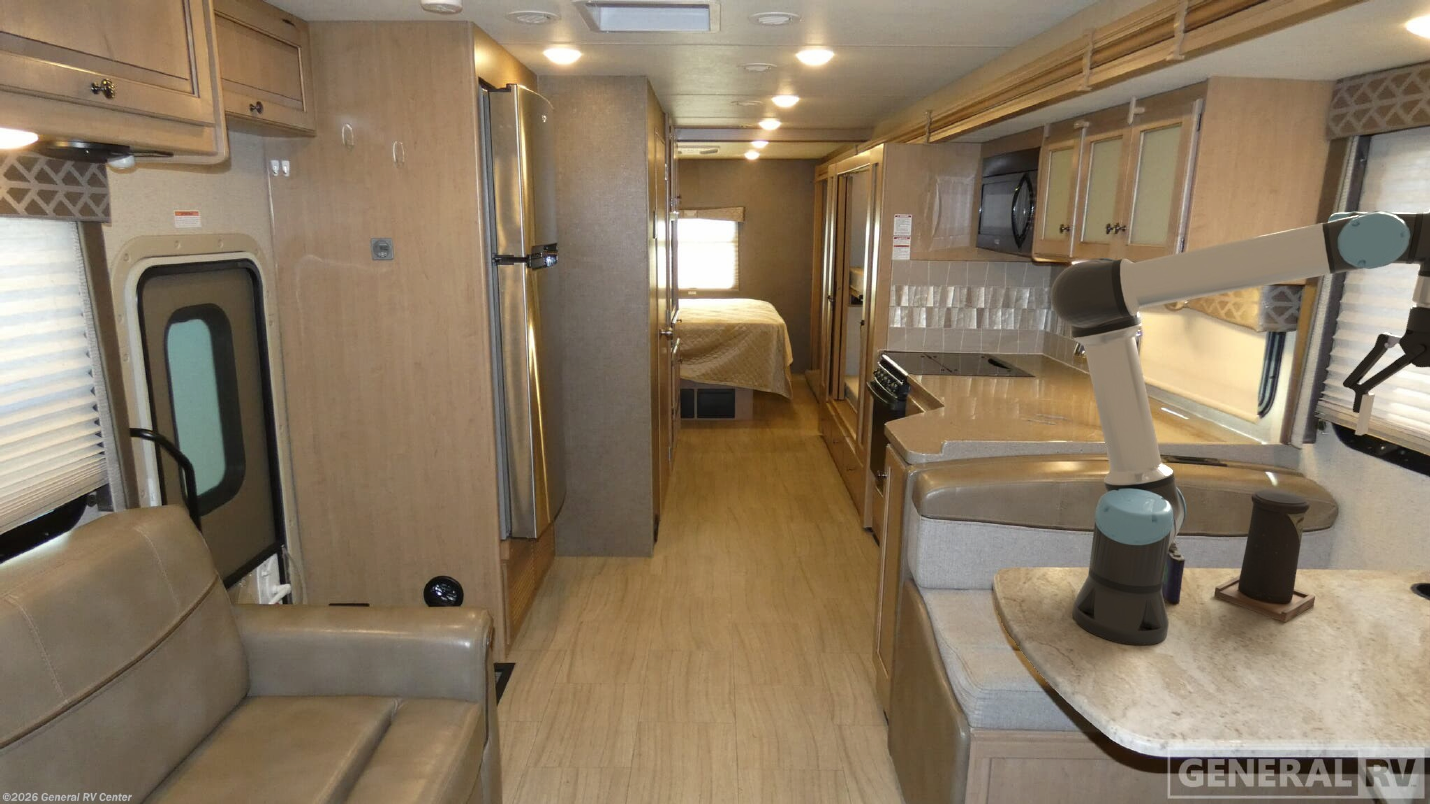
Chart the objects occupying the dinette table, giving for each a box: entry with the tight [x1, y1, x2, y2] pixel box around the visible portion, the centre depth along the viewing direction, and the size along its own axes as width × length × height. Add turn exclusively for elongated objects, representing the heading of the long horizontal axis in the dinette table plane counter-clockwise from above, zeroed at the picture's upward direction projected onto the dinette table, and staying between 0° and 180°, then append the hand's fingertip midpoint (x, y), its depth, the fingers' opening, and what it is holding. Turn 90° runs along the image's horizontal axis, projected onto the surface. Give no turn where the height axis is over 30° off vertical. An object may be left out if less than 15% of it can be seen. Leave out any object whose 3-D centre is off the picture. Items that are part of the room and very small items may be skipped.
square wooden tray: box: [1213, 574, 1316, 623], centre depth 152 cm, size 12×12×2 cm
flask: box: [1162, 541, 1186, 605], centre depth 153 cm, size 9×3×11 cm, turn 175°
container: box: [1238, 489, 1311, 603], centre depth 150 cm, size 9×9×20 cm
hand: (1414, 444), depth 124 cm, fingers open, 13 cm apart
